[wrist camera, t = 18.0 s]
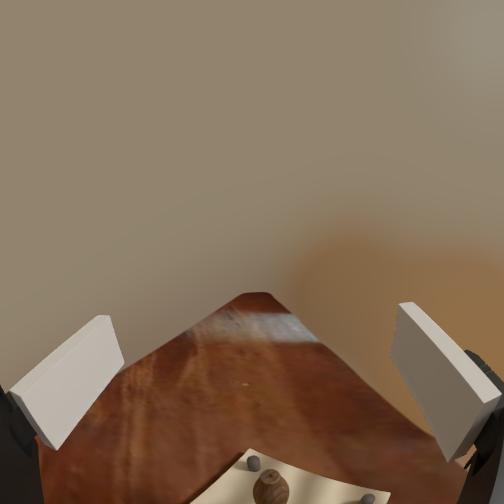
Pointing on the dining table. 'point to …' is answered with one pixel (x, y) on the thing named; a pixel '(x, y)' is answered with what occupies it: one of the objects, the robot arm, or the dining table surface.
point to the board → (299, 481)
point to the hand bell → (271, 488)
